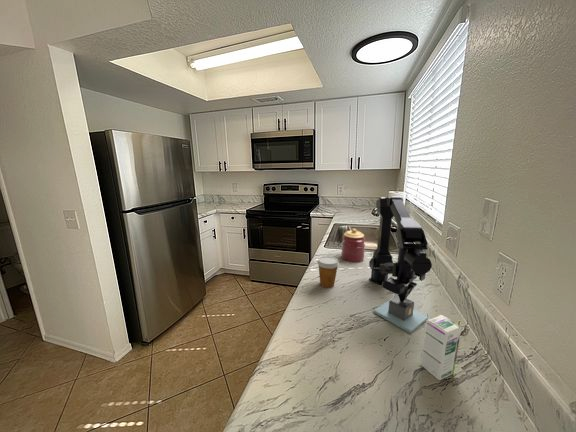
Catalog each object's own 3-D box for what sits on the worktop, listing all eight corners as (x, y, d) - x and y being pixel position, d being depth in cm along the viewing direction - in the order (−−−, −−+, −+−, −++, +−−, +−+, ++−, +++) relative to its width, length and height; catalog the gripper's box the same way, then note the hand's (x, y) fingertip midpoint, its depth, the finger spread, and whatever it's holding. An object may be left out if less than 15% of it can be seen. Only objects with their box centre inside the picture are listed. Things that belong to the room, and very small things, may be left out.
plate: (373, 312, 89) (373, 309, 89) (391, 301, 96) (391, 299, 96) (410, 333, 78) (411, 330, 78) (427, 319, 85) (428, 317, 85)
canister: (360, 264, 131) (363, 233, 127) (337, 259, 137) (339, 229, 133) (366, 256, 142) (368, 227, 138) (344, 252, 148) (346, 224, 144)
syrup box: (439, 381, 61) (448, 333, 58) (419, 364, 67) (426, 318, 63) (454, 373, 64) (463, 326, 60) (433, 357, 69) (440, 313, 66)
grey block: (388, 312, 88) (389, 300, 87) (396, 306, 91) (398, 294, 90) (404, 321, 83) (406, 308, 82) (413, 314, 86) (414, 302, 85)
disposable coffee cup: (339, 281, 112) (341, 257, 109) (334, 291, 103) (336, 266, 101) (320, 277, 116) (321, 254, 113) (313, 286, 107) (314, 262, 105)
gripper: (398, 248, 94) (394, 284, 98) (370, 259, 83) (366, 299, 87) (428, 257, 85) (423, 296, 89) (401, 271, 75) (395, 315, 78)
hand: (401, 301), depth 86 cm, fingers closed
